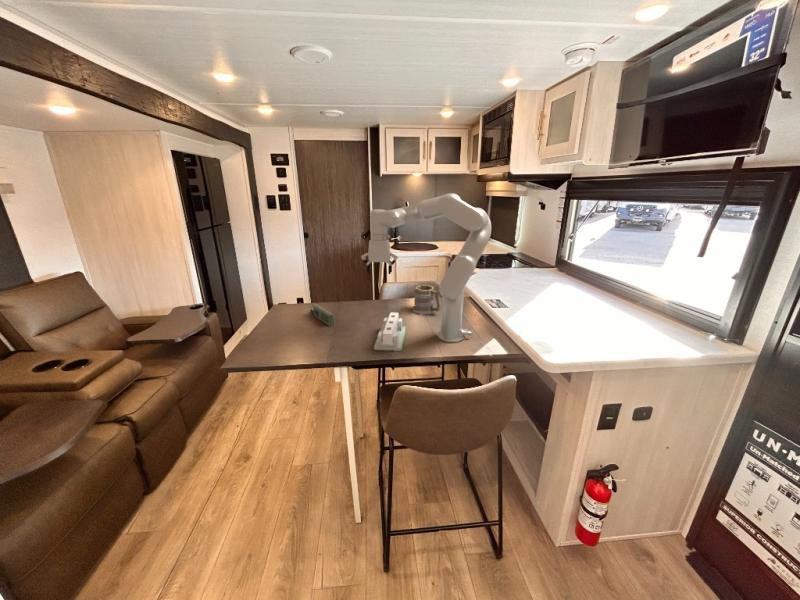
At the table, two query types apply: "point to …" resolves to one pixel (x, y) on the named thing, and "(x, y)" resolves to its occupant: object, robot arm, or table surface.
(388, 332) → the power strip
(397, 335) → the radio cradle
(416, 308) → the tankard
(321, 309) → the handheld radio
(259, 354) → the table surface
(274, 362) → the table surface
